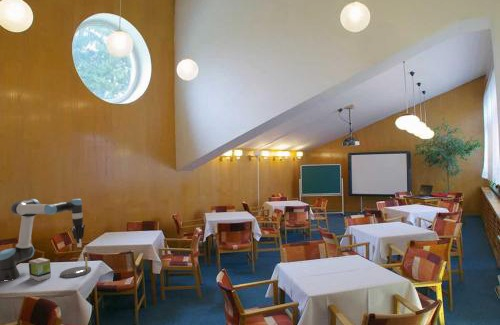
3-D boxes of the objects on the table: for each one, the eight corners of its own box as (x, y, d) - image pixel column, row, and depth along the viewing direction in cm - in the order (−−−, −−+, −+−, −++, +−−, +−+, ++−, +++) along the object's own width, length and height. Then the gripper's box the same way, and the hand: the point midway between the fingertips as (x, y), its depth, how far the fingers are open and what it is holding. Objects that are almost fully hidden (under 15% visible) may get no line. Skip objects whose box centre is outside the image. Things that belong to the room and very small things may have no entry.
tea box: (51, 277, 266) (50, 259, 266) (38, 281, 258) (37, 263, 257) (42, 274, 274) (41, 257, 274) (29, 278, 266) (27, 260, 265)
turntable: (53, 277, 266) (52, 260, 265) (75, 267, 288) (74, 252, 288) (77, 278, 260) (76, 262, 260) (97, 268, 282) (96, 253, 282)
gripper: (75, 219, 256) (77, 249, 257) (87, 216, 269) (89, 244, 270) (67, 219, 258) (69, 249, 259) (79, 216, 271) (81, 244, 272)
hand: (79, 246), depth 264 cm, fingers closed
